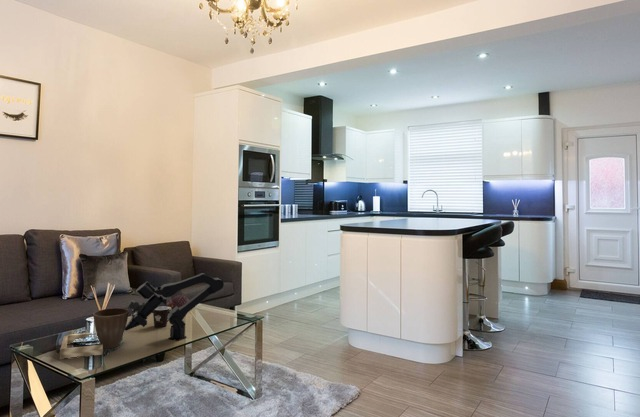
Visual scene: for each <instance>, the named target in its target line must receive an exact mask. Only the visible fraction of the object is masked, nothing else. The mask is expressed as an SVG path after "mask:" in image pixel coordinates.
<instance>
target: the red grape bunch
mask: <svg viewBox="0 0 640 417" xmlns="http://www.w3.org/2000/svg"><path fill="white" fill-rule="evenodd" d="M189 300H190V299H189V298H188V297H187V296H186V295H184V294H178V295H175V296H173V298H172V299H169V302H168V301H166V305H167V307H169V308H170V310H172V309H174V307H176V306H177V307H178V308H179V307H181V306H183V305H184V304H186V303H187V302H188V301H189Z"/></svg>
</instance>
